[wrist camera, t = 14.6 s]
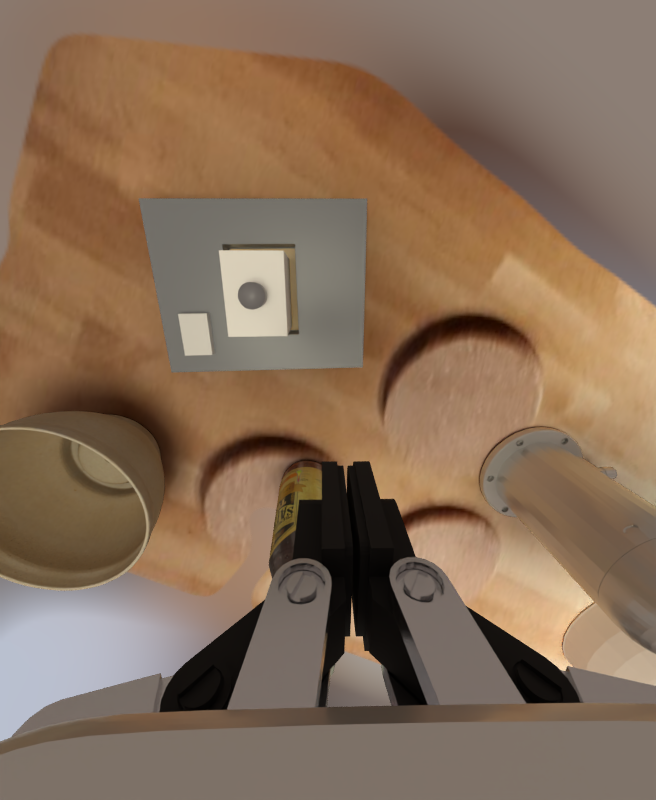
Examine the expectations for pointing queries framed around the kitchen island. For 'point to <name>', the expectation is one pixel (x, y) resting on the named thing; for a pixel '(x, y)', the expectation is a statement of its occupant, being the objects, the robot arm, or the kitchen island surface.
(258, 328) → the plug
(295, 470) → the sauce bottle
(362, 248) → the socket
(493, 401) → the kitchen island surface
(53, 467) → the planter bowl
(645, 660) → the kettle
